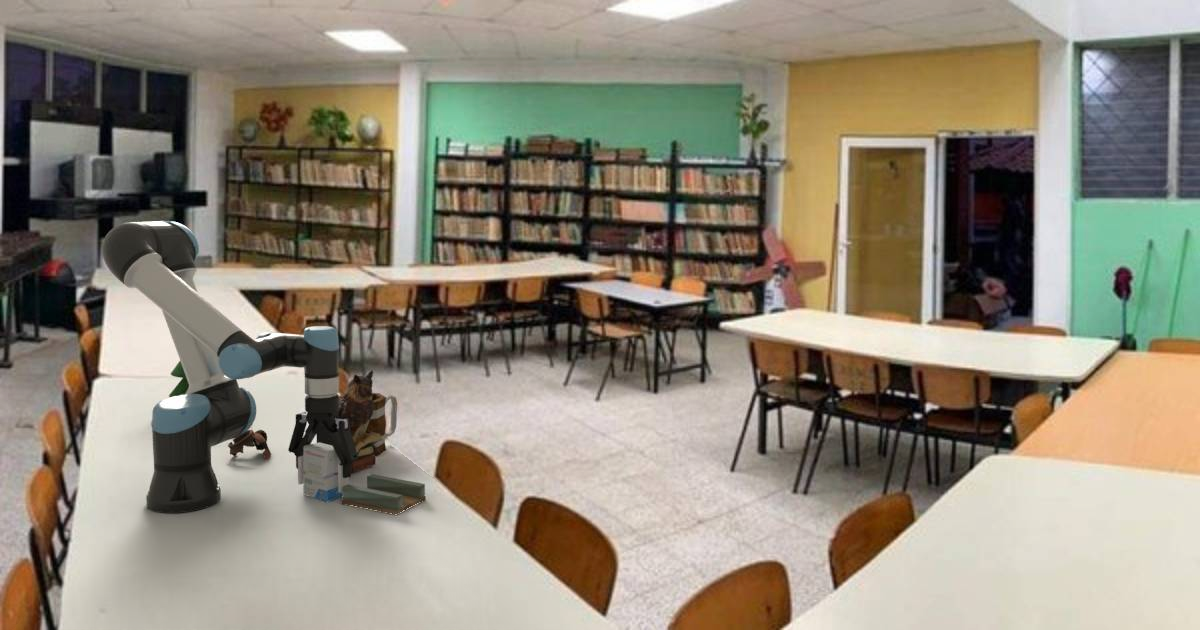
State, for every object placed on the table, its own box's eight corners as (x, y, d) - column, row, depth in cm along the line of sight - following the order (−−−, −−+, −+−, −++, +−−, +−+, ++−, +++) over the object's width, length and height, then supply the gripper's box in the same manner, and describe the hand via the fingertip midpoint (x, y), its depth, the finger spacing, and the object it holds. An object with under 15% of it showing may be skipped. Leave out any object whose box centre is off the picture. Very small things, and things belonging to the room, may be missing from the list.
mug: (357, 462, 234) (357, 406, 232) (324, 452, 241) (323, 398, 239) (413, 445, 250) (413, 393, 248) (379, 437, 257) (379, 386, 255)
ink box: (344, 496, 207) (344, 447, 206) (327, 502, 203) (326, 452, 202) (319, 489, 212) (319, 440, 210) (302, 494, 208) (301, 445, 206)
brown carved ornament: (265, 465, 230) (247, 439, 228) (236, 477, 233) (217, 452, 230) (283, 441, 242) (266, 416, 239) (255, 453, 244) (238, 429, 241)
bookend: (343, 481, 218) (342, 381, 214) (312, 473, 223) (311, 375, 220) (387, 467, 230) (386, 372, 227) (357, 459, 236) (356, 366, 232)
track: (396, 515, 196) (396, 497, 196) (341, 504, 202) (341, 487, 202) (425, 500, 206) (425, 483, 206) (372, 489, 212) (372, 473, 212)
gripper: (374, 397, 203) (374, 489, 206) (294, 385, 212) (295, 474, 215) (352, 403, 196) (353, 499, 199) (270, 391, 206) (272, 483, 209)
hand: (323, 486), depth 207 cm, fingers open, 11 cm apart
